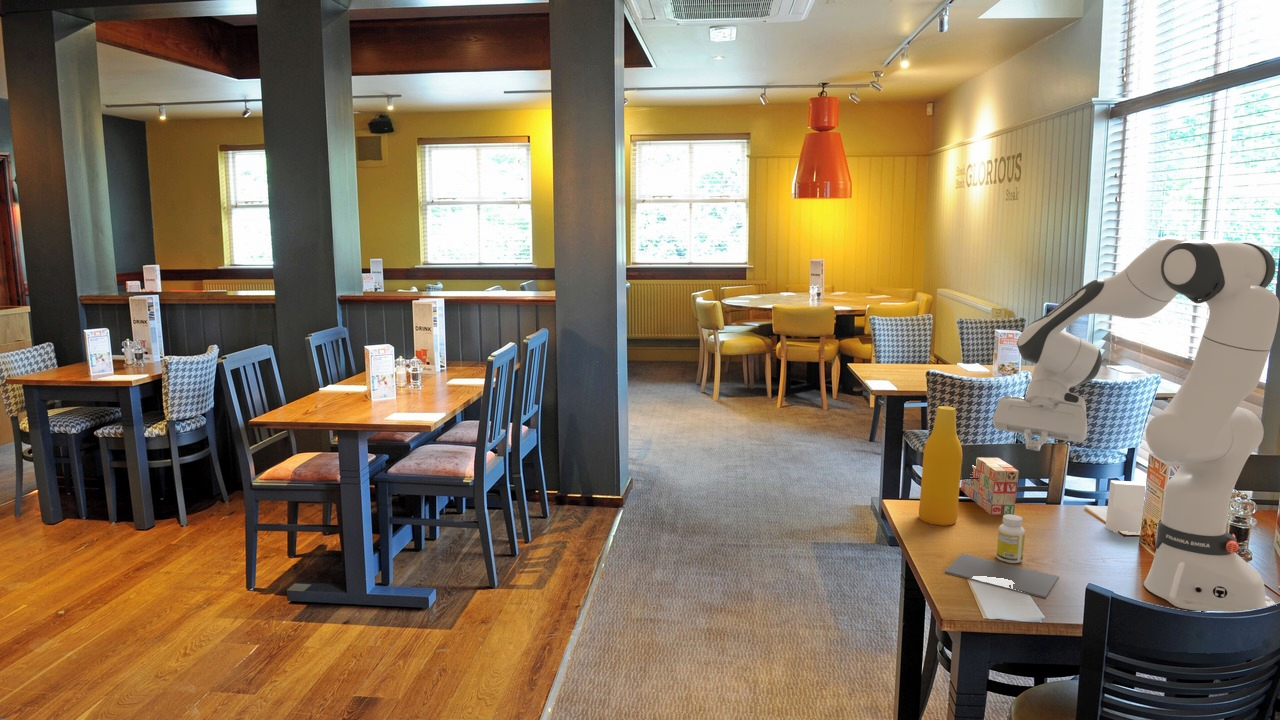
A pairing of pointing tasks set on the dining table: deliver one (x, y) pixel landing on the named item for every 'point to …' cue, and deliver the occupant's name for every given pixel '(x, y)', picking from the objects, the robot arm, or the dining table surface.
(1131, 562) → the dining table surface
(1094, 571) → the dining table surface
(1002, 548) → the supplement bottle
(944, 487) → the yellow bottle
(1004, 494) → the stack of blocks
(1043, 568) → the dining table surface
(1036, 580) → the charcoal mat
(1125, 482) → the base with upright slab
